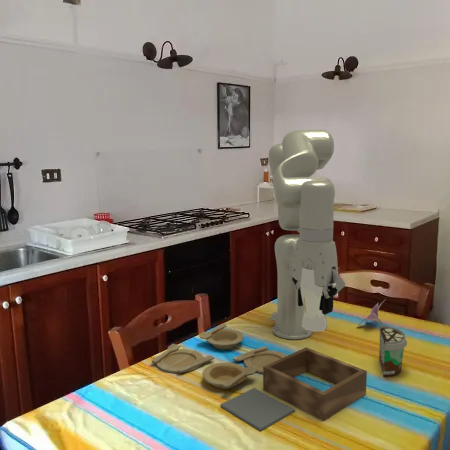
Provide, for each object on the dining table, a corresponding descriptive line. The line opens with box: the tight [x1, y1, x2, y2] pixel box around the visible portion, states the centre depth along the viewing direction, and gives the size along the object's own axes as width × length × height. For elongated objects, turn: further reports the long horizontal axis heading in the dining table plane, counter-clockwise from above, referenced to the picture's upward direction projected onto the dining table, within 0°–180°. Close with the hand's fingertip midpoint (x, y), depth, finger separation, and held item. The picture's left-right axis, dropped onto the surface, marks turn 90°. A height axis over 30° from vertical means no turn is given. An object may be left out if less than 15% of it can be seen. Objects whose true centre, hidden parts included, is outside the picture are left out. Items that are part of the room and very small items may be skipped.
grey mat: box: [220, 387, 296, 432], centre depth 109 cm, size 13×11×1 cm
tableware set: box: [151, 323, 291, 390], centre depth 133 cm, size 35×29×4 cm
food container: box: [378, 324, 408, 378], centre depth 126 cm, size 12×6×10 cm, turn 168°
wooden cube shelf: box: [262, 346, 368, 422], centre depth 116 cm, size 18×16×6 cm
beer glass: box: [300, 267, 329, 333], centre depth 113 cm, size 7×7×15 cm
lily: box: [356, 299, 386, 328], centre depth 155 cm, size 12×12×10 cm
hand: (314, 308), depth 113 cm, fingers closed on beer glass, 6 cm apart
